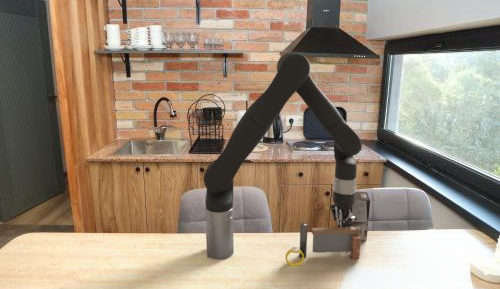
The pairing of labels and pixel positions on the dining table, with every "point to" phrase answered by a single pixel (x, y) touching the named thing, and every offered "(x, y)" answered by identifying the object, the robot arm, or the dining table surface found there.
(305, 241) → the gate post
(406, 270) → the dining table surface
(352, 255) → the block
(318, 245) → the gate
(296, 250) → the watch
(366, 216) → the coffee box
